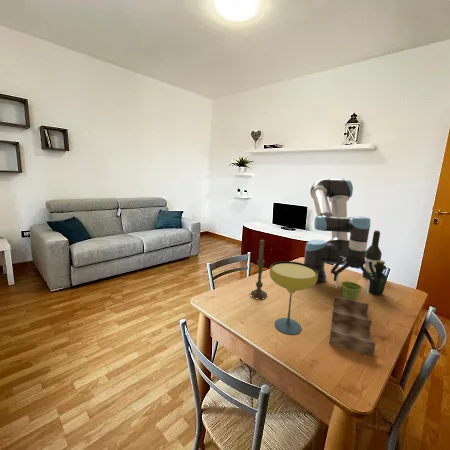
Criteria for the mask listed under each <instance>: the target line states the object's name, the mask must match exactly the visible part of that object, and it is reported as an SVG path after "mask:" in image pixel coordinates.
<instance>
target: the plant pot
mask: <svg viewBox="0 0 450 450" xmlns="http://www.w3.org/2000/svg"><path fill="white" fill-rule="evenodd" d="M340 285H341V289H342V291H341V292H342V294H341V295H342V296H341V298H345V299H350V300H354V301H358V298H359V295H360V293H361V291H362V290H363V286H362V285H361V284H358V283H356V282H352V281H347V280H345V281H342V282H341V283H340Z"/></svg>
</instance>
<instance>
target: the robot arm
mask: <svg viewBox="0 0 450 450" xmlns="http://www.w3.org/2000/svg"><path fill="white" fill-rule="evenodd" d="M353 191H354V187H353V184H352V181H351V180H349V179H345V178H320V179H318V180H316V181H315V182H314V183H313V184H312V185H311V187H310V192H309V193H310V197H311V198H312V200H313V203H314V208H315V213H316V216H315V218H314V224H313V225H314V229H315V230H316V231H320V232H323V231H324V232H331V238H330V239H329V241H326V240H323V239H312V240H308V241H307V242H306V244H305V248H304V250H305V251H304V261H303V264H306V265H308V266H311V267H312V268H314V269H315V270H316V271H317V274H318V278H317V282H316V284H319V283H325V282H326V280H327V274H326V270H325V264H334V266H333V267H332V268H331V269H330V273H331V274H332V275H333V281H334V282H335V285H334V288H335V289H337V288H338V283H339V275H340V274H341V273H342V272H344V271H345V269H348V268H349V267H350V268H354V269H360V270H361V271H362V273H363V272H364V273H365V275H366V276H367V278H368V279H367V278H366V279H367V284H366V289H365V295H367V296H368V295H369V293H370V292H369V288H372V284H373V282H374V281H376V282H377V281H378V280H377V277H376V274H375V272H374V269H373V267H372V261H371V260H369V261H365V255H366V250H367V249H368V248H367V247H368V240H369V234H370V228H371V219H370V218H369V217H367V216H357V215H356V216H348V209H347V208H348V204H347V202H349V200H350V198H352V196H353ZM329 203H331V206H330V204H329ZM348 233H349V234H350V235H349V239H348ZM365 263H366V264H367V265H368V266H369V267H370V270H371V272H372V275H373V277H374V278H372V277H371V276H370V275H369V273H368V272H367V271H366V269H365V268H364V264H365ZM340 265H342V266H341V267H340Z"/></svg>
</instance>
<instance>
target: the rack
mask: <svg viewBox="0 0 450 450" xmlns="http://www.w3.org/2000/svg"><path fill="white" fill-rule="evenodd" d="M368 309H369V303H366V302H362V301H358V300H357V301H354V300H350V299H345V298H342V296H341V297H340V296H336V295H334V297H333V305H332V312H331V313H332V315H331V325H330V334H329V344H331V345H333V346H336V347H340V348H343V349H346V350H348V351H352V352H355V353H359V354H363V355H365V356H369V357H374V353H375V347H376V342H375V341H372V334H371V325H372V320H371V319H369V317H368V316H369V315H368Z"/></svg>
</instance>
